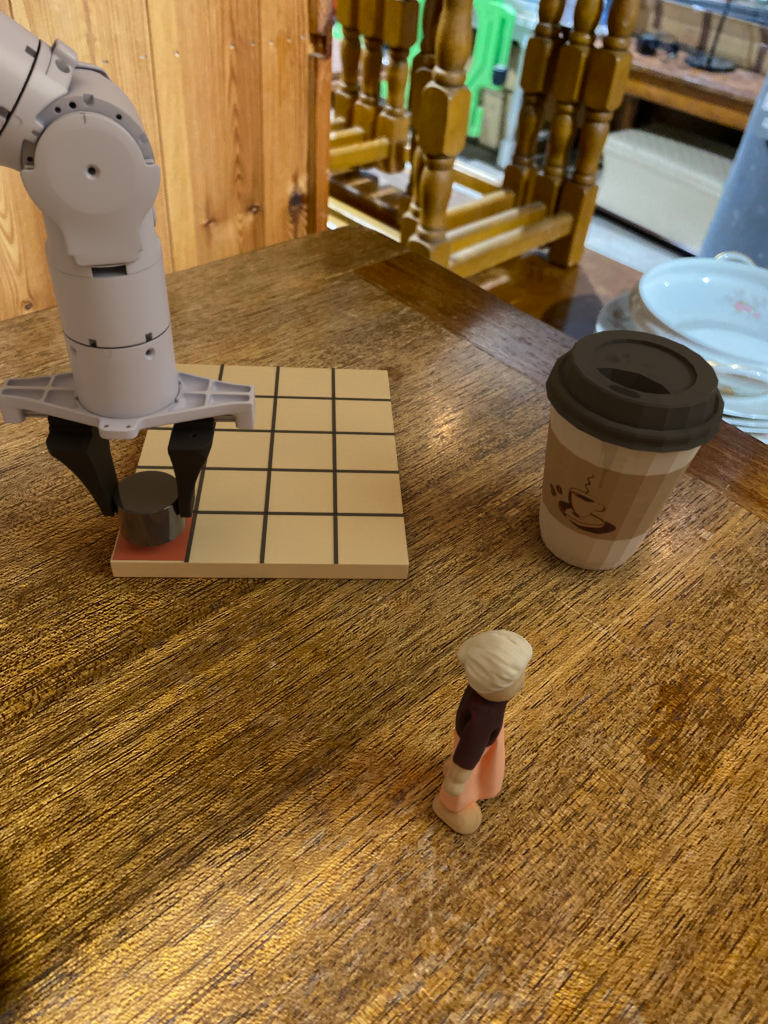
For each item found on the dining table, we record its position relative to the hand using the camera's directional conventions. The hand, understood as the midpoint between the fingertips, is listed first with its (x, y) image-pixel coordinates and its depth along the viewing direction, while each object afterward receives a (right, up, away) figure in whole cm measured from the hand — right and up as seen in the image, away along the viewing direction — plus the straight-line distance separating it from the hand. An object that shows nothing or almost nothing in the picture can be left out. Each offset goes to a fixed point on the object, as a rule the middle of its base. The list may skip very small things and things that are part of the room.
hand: (149, 507), depth 52 cm
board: (+7, +3, +11) cm, 13 cm away
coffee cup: (+31, -2, +7) cm, 32 cm away
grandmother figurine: (+20, -16, -9) cm, 27 cm away
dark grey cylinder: (0, -1, +1) cm, 2 cm away
